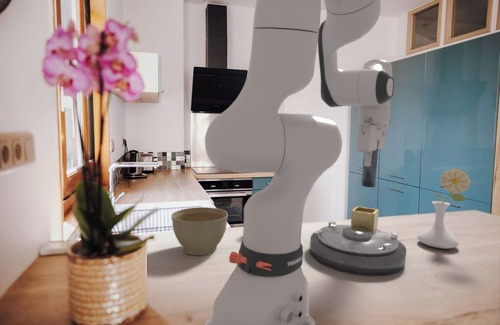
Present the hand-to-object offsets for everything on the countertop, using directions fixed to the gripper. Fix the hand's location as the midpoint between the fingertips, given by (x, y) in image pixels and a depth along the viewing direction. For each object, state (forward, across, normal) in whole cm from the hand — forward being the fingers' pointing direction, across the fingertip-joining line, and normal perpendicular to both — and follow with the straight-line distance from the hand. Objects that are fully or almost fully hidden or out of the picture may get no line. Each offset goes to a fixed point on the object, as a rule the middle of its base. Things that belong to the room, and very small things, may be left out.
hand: (369, 165), depth 99 cm
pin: (+6, 0, 0) cm, 6 cm away
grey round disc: (+21, -8, 0) cm, 23 cm away
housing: (+26, -8, 0) cm, 27 cm away
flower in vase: (+26, +16, -20) cm, 36 cm away
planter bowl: (+26, -31, +39) cm, 56 cm away
